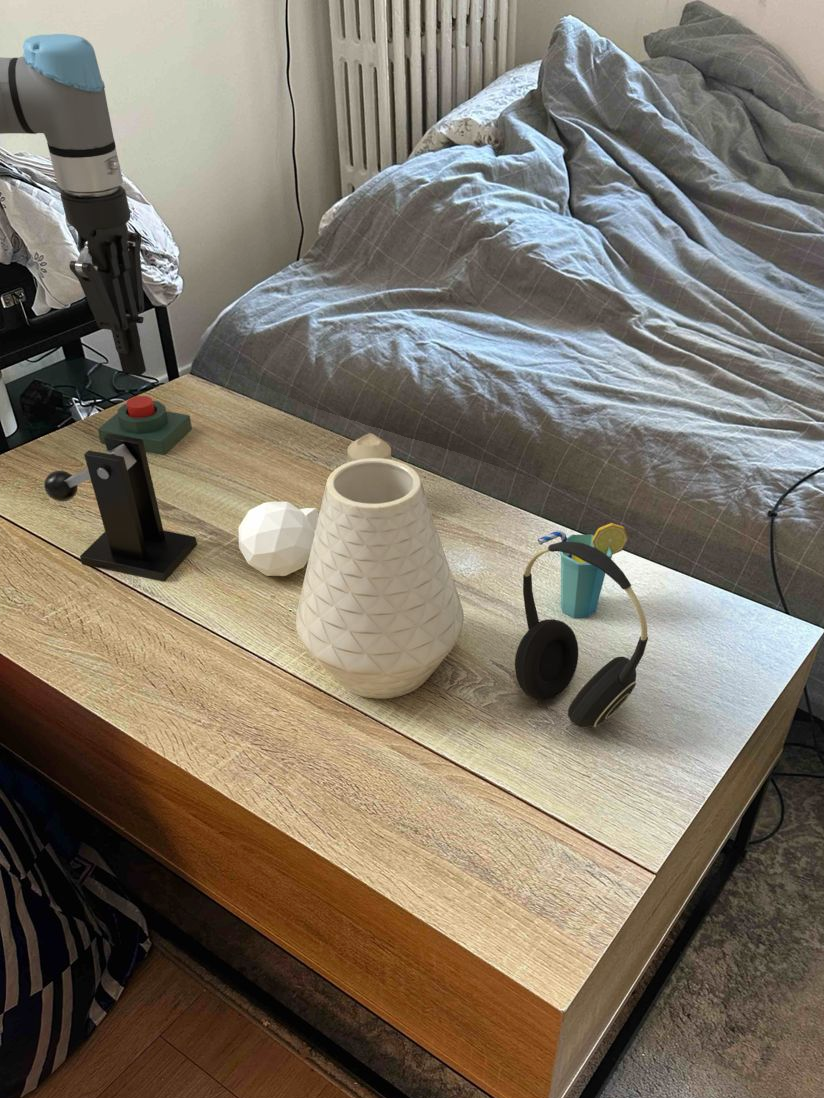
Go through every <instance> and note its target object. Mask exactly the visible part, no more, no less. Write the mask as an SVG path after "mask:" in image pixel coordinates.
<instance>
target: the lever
mask: <svg viewBox="0 0 824 1098" xmlns="http://www.w3.org/2000/svg"><path fill="white" fill-rule="evenodd" d="M105 453H106V454H112V455H117V456H122V457H124V459H125V463H126V468H127V470H128V469H129V468H130V467H131V466H133V465H134V464H135V463H136V462H137V461H136V459H135V458H134V457H133V455H132V454H131V453H130V451H129V450H128V449H127V447H126V446H125V445H124V444H122V445H120V446H117V447H115V448H113V449H111V450H109V451H107V450H106V451H105ZM89 480H91V478H90V475H89V471H88V467H87V468H85V469H83V470H81V471H79V472H76V473H74V474H71V473H69V472H68V471H65V470H55V471H52V472H50V473H49V474H48V475H47V476H46V478H45V479H44V483H43V485H44V486H43V487H44V491H45V493H46V494H47V496H48V497H49V498H50V499H52V500H54V501H56V502H64V503H65V502H68V501H71V500H72V499H74V497H75V496H76V495H77V492H78V485H81V484H83V483H84V482H87V481H89Z"/></svg>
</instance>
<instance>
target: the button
mask: <svg viewBox="0 0 824 1098" xmlns="http://www.w3.org/2000/svg"><path fill="white" fill-rule="evenodd" d="M153 401H154V400H153V398H152V397H150V396H147V395H137V396H133V397H131V398H129V399H128V400H126V402H125V404H126V405H127V409H128V413H129V416H130V417H135V418H143V417H148V416H151V415H153V414H154V413H155V408H154V403H153Z"/></svg>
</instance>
